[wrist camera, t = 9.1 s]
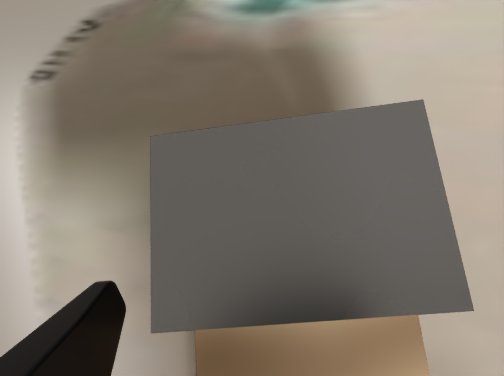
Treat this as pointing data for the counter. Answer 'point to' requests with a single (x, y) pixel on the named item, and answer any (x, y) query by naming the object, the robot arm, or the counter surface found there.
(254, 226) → the grey square pillar
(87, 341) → the robot arm
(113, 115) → the counter surface
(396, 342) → the board with square holes
